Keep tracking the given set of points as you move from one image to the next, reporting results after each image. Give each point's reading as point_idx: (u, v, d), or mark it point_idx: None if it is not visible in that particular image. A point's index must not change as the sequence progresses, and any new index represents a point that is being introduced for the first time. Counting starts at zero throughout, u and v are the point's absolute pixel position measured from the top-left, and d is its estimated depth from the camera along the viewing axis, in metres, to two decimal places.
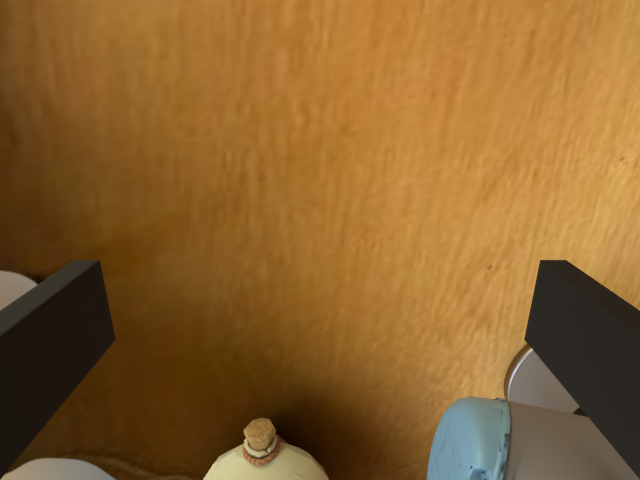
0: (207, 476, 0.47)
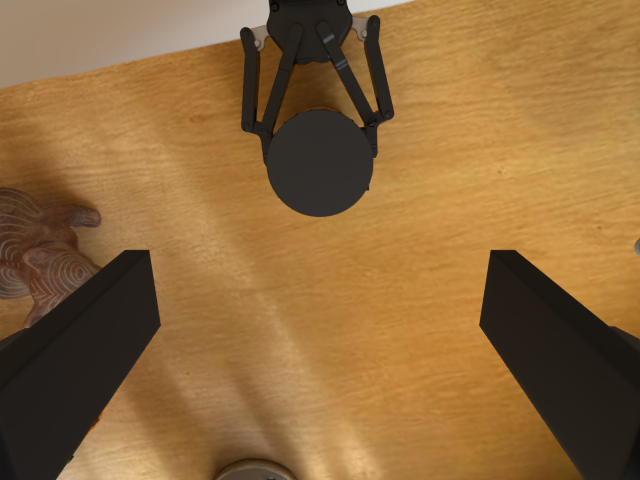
0: None
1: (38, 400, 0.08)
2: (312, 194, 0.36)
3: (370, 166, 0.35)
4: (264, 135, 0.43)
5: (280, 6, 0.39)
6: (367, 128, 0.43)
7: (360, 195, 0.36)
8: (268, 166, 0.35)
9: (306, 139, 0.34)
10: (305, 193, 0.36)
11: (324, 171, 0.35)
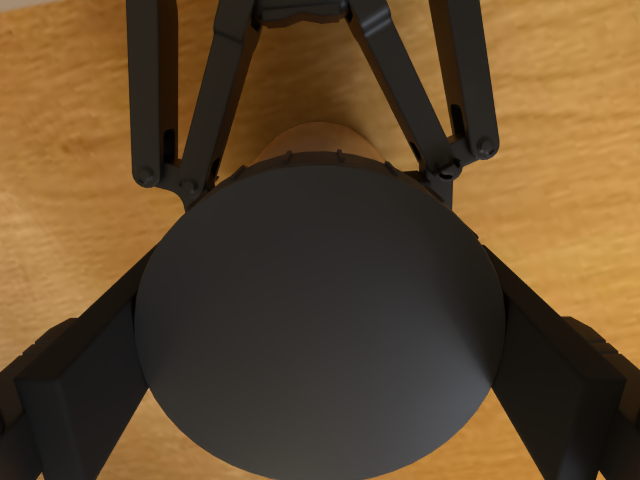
0: None
1: (93, 383, 0.08)
2: (295, 428, 0.11)
3: (494, 350, 0.10)
4: (189, 195, 0.18)
5: None
6: (431, 178, 0.18)
7: (452, 430, 0.11)
8: (142, 350, 0.10)
9: (270, 267, 0.09)
10: (272, 425, 0.11)
11: (335, 365, 0.10)
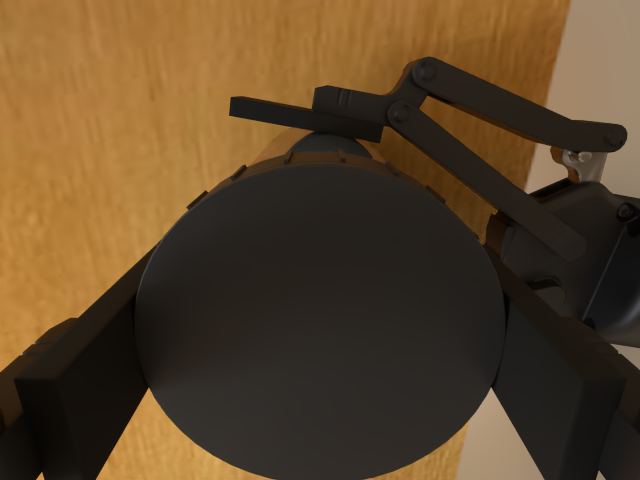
0: None
1: (93, 383, 0.08)
2: (295, 428, 0.11)
3: (494, 351, 0.10)
4: (392, 110, 0.17)
5: (620, 223, 0.19)
6: None
7: (451, 431, 0.11)
8: (142, 349, 0.10)
9: (271, 267, 0.09)
10: (272, 425, 0.11)
11: (335, 365, 0.10)
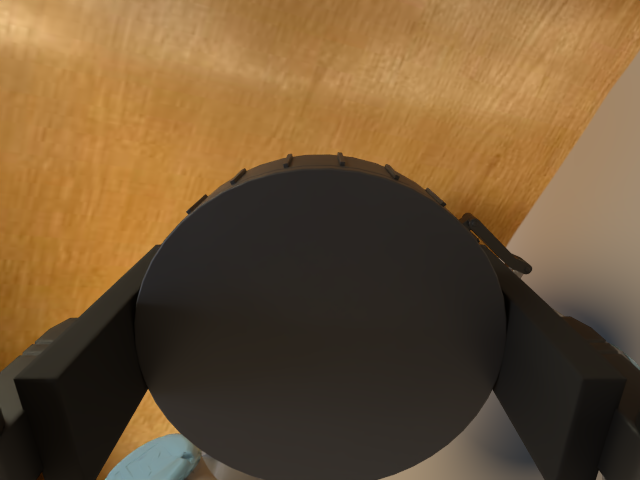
0: None
1: (93, 383, 0.08)
2: (296, 431, 0.11)
3: (495, 354, 0.10)
4: None
5: None
6: None
7: (452, 434, 0.11)
8: (142, 354, 0.10)
9: (271, 271, 0.09)
10: (273, 429, 0.11)
11: (336, 369, 0.10)
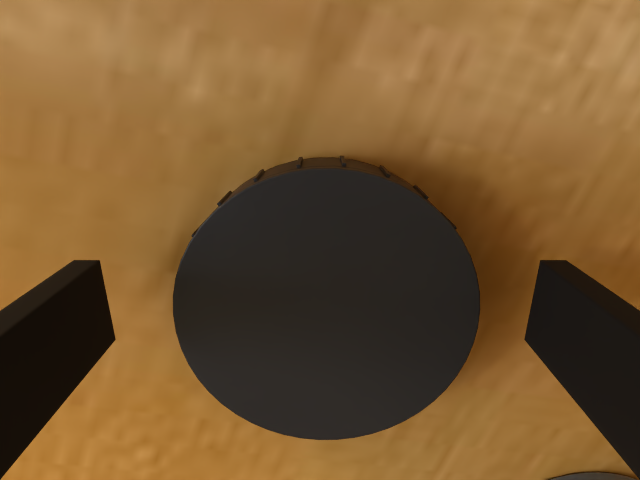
0: None
1: None
2: (305, 389, 0.13)
3: (471, 322, 0.12)
4: None
5: None
6: None
7: (437, 392, 0.13)
8: (179, 322, 0.12)
9: (286, 252, 0.11)
10: (286, 387, 0.13)
11: (339, 335, 0.12)
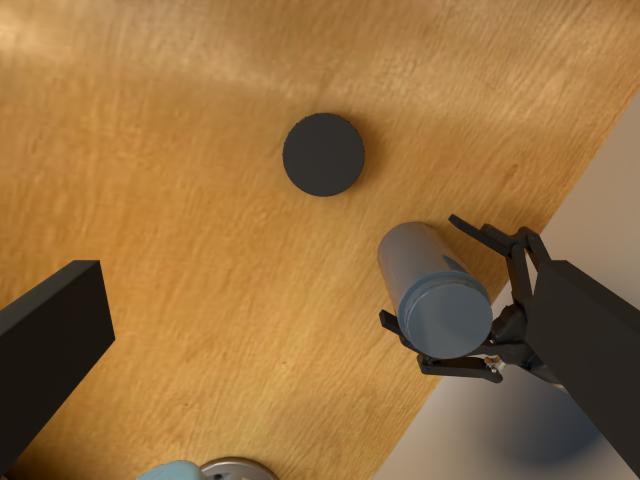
0: None
1: None
2: (317, 178, 0.46)
3: (362, 157, 0.45)
4: (516, 246, 0.43)
5: None
6: None
7: (354, 179, 0.46)
8: (284, 157, 0.45)
9: (313, 136, 0.45)
10: (312, 178, 0.46)
11: (327, 161, 0.46)
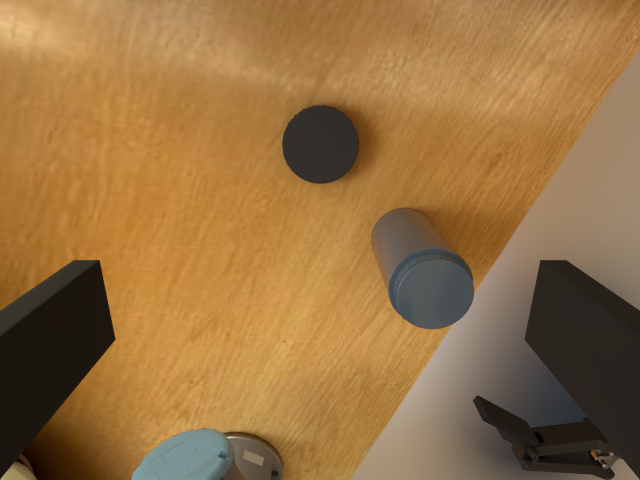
0: None
1: None
2: (315, 166, 0.50)
3: (356, 146, 0.49)
4: None
5: None
6: None
7: (349, 167, 0.50)
8: (283, 146, 0.49)
9: (310, 127, 0.48)
10: (310, 166, 0.50)
11: (323, 150, 0.49)
